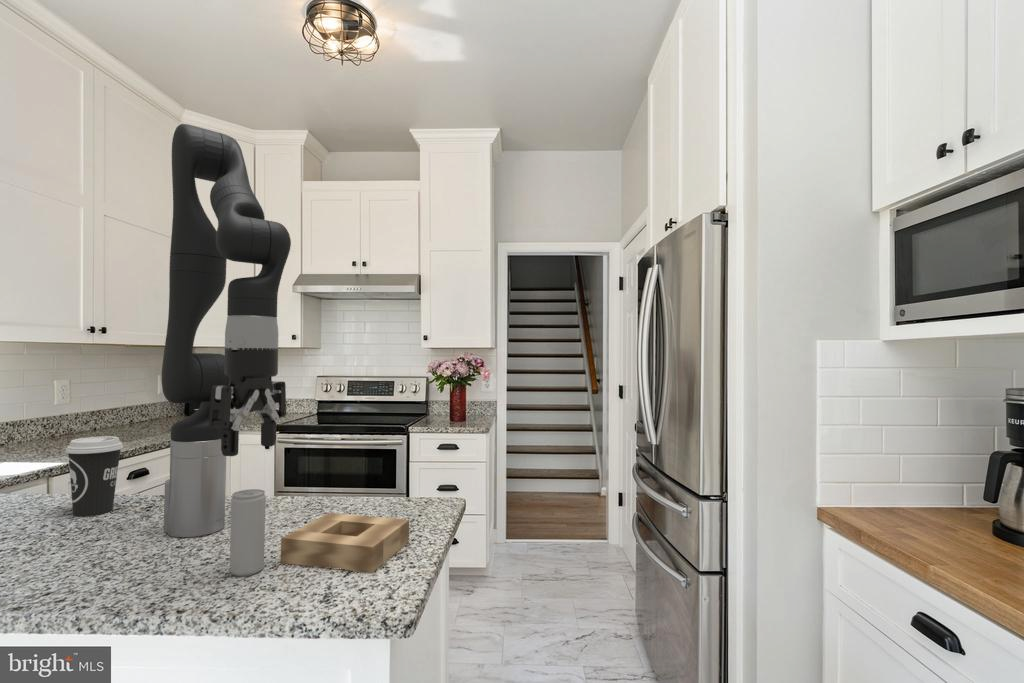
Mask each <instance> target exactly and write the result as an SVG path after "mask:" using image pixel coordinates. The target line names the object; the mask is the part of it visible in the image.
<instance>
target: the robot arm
mask: <svg viewBox="0 0 1024 683" xmlns="http://www.w3.org/2000/svg"><path fill="white" fill-rule="evenodd" d="M171 140H172V141H171V178H172V180H171V181H172V182H171V183H172V223H171V239H170V249H169V250H170V252H169V272H168V273H169V274H168V275H169V277H168V278H169V285H168V286H169V287H168V288H169V289H168V290H169V291H168V292H169V294H168V295H169V296H168V320H167V328H166V336H165V342H164V350H163V358H162V367H161V388H162V393H163V396H164V398H165V399H166V400H167V401H168V402H170V403H172V404H190V403H191V404H192V403H200V405H199V408H198V409H197V410H196V411H194V413H192V414H191V415H189V416H187V417H186V418H184V419H180V420H178V421H177V422H175V423H173V425H172V426H171V428H170V442H169V443H170V448H169V450H170V451H169V453H170V454H169V479H166V480H165V482H164V498H163V499H164V500H163V502H164V503H163V533H168V535H169V536H171V537H175V538H176V537H177V538H190V537H191V538H192V537H193V538H194V537H200V536H205V535H209V534H213V533H216V532H218V531H220V530H222V529H223V528H225V525H226V524H225V523H226V522H225V521H226V487H227V486H226V484H227V481H226V480H227V457H235V456H237V455H239V440H240V438H239V436H240V431H239V430H238V428H239V427H240V425H241V422H242V421H243V419H245V418H246V417H247V416H248V415H249V413H256V414H258V416H259V418H260V420H261V423H260V445H261V446H262V447H275V445H276V441H277V423H278V422H279V420H280V419H281V418H285V417H286V415H287V404H286V403H287V398H286V395H287V394H286V392H287V391H286V388H287V387H286V382H285V381H277V380H276V381H275V380H274V381H273V380H272V377H276V376H277V375H278V374H279V326H278V295H279V294H278V293H279V288H280V284H281V281H282V280H281V279H282V276H283V273H284V269H285V266H286V263H287V260H288V258H289V255H290V251H291V247H292V243H291V242H292V240H291V236H290V233H289V231H288V229H287V227H286V226H285V225H284V224H282V223H280V222H278V221H273V220H267V219H265V218H266V217H265V212H264V210H263V208H262V205H261V204H260V202H259V201H258V198H257V197H256V194H255V193H254V192H253V189H252V186H251V185H250V183H251V182H250V181H249V174H248V169H247V165H246V162H245V158H244V154H243V152H242V148H241V146H240V144H239V142H238V141H237V140H236V139H235V138H234V137H232V136H230V135H227V134H226V133H221V132H218V131H215V130H211V129H207V128H204V127H200V126H195V125H192V124H188V123H187V124H186V123H181V124H179V125H177V126H176V128H175V130H174V132H173V136H172V139H171ZM196 179H197V180H198V179H199V180H204V181H209V182H212V183H214V184H213V185H212V187H211V190H210V194H209V202H210V205H211V208H212V210H213V212H214V215H215V217H216V220H217V229H216V228H215V226H214V225H213V223H212V221H211V220H210V218H209V217H208V215H207V213H206V212H205V209H204V207H203V206H202V203H201V201H200V198H199V195H198V190H197V185H196V184H197V183H196ZM227 260H229V261H232V262H235V263H237V262H238V263H245V264H253V265H254V264H255V265H261V270H260V271H259V273H258V274H257V275H256V276H249V277H239V278H235V279H234V278H233V279H232V280H230V282H229V283H228V285H227V286H228V287H227V308H226V309H227V314H226V315H227V316H226V317H227V318H226V323H225V324H226V325H225V329H224V330H225V332H224V354H222V353H213V352H212V353H208V352H204V353H203V352H202V353H197V352H196V353H195V352H194V353H193V351H194V344H195V338H196V334H197V331H198V329H199V327H200V325H201V322H202V321H203V319H204V318H205V316H206V315H207V314H208V312H210V309H211V308H212V307H213V306H214V304H215V303H216V302H217V300H218V299H219V298H220V296H221V295H222V293H223V291H224V289H225V287H226V282H227V281H226V280H227ZM276 403H277V404H278V409H277V404H276Z"/></svg>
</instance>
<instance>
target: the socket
mask: <svg viewBox="0 0 1024 683" xmlns="http://www.w3.org/2000/svg"><path fill="white" fill-rule="evenodd" d="M408 543H410V519H406V518H396V517H395V518H394V517H381V516H369V515H359V514H347V513H336V512H335V513H334V512H328V513H326V514H324V515H321V516H320V517H318V518H316V519H314V520H312V521H310V522H309V523H307V524H304V525H302V526H300V527H299V528H297V529H295V530H294V531H291V532H290V533H288V534H285V535H284V536H282V537H280V564H285V563H286V564H288V565H294V564H295V566H303V565H308V566H307V567H312V566H317V567H316V568H321V567H328V568H327V569H330V568H339V569H340V568H341V569H346V570H345V571H348V570H354V571H353V572H357V571H361V572H360V573H366V572H369V573H368V574H373V573H374V572H376V571H377V570H378V569H379V568H380V567H381V566H383V565H384V564H385V563H386V562H387V561H389V560H390V559H391V558H392V557H393V556H394V555H395V553H396V552H397V551H398V552H399V551H401V549H403V548H404V547H405V546H406V545H408ZM402 547H403V548H402ZM398 552H397V553H398ZM391 556H392V557H391ZM390 557H391V558H390ZM389 558H390V559H389ZM384 562H385V563H384ZM383 563H384V564H383ZM382 564H383V565H382ZM329 567H330V568H329ZM339 569H338V570H339ZM376 569H377V570H376Z"/></svg>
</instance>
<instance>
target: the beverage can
mask: <svg viewBox="0 0 1024 683" xmlns="http://www.w3.org/2000/svg"><path fill="white" fill-rule="evenodd" d="M231 496H232V497H231V499H230V534H229V536H230V537H229V538H230V542H229V543H230V545H229V550H230V551H229V572H230V573H231V574H232V575H233V576H236V577H248V576H253V575H255V574H258V573H259V572H261V570H262V569H264V566H265V541H266V540H265V538H266V537H265V536H266V534H265V533H266V492H265V490H263V489H259V488H258V489H257V488H253V489H252V488H250V489H244V490H243V489H242V490H237V491H235V492H234V493H233V492H232V494H231Z"/></svg>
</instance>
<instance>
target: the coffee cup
mask: <svg viewBox="0 0 1024 683" xmlns="http://www.w3.org/2000/svg"><path fill="white" fill-rule="evenodd" d="M122 449H124V444H123V443H122V441H120V437H118V436H112V435H111V436H109V435H108V436H89V437H81V438H76V439H72V440H70V443H69V445H67V447H66V448H65V453H66V454H67V455H68V464H69V465H68V467H69V477H70V478H69V480H70V490H71V502H72V515H73V517H80V518H81V517H83V518H84V517H93V516H94V517H95V516H99V515H104V514H108V513H110V512H111V511H113V509H114V502H115V495H116V494H115V493H116V488H117V487H116V486H117V485H116V484H117V480H118V478H117V477H118V471H119V464H120V458H121V457H120V455H121V450H122Z"/></svg>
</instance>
